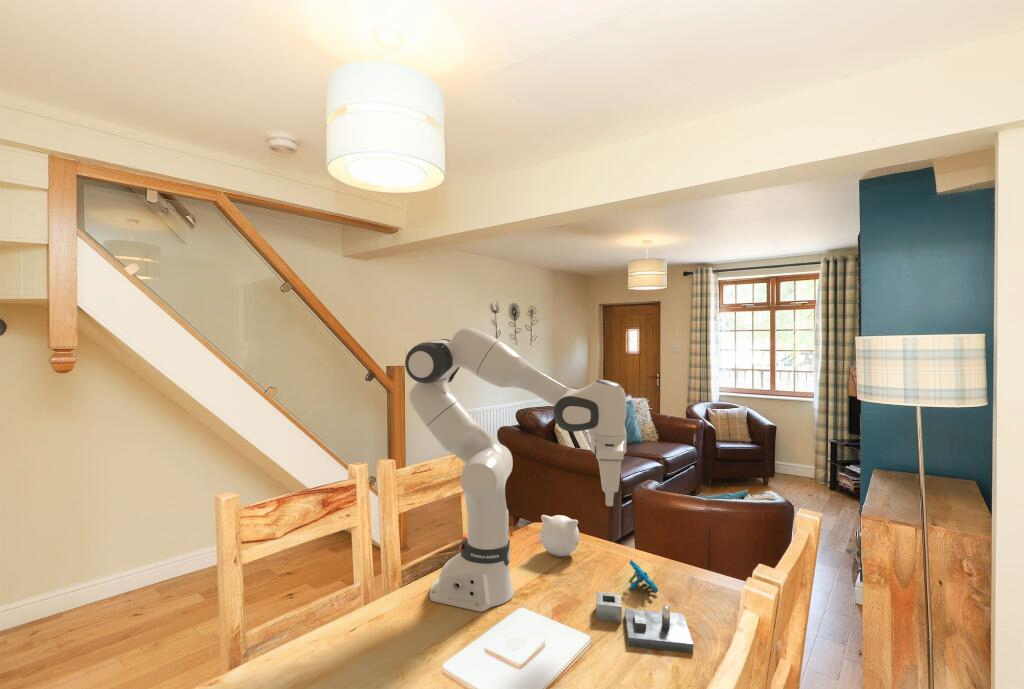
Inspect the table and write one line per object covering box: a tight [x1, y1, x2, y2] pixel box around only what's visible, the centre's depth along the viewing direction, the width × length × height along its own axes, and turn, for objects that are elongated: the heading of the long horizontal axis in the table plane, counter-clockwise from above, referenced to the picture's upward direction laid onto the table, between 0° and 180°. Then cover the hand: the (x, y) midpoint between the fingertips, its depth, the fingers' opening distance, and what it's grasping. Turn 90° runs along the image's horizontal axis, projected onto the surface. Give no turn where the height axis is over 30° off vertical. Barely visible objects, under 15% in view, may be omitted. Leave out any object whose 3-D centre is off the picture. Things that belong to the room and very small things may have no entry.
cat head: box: [533, 514, 580, 557], centre depth 159 cm, size 15×13×12 cm
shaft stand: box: [624, 604, 694, 654], centre depth 118 cm, size 14×12×6 cm
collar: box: [595, 591, 623, 624], centre depth 126 cm, size 6×6×4 cm
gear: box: [628, 559, 659, 593], centre depth 139 cm, size 11×6×10 cm
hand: (608, 498), depth 127 cm, fingers open, 8 cm apart
